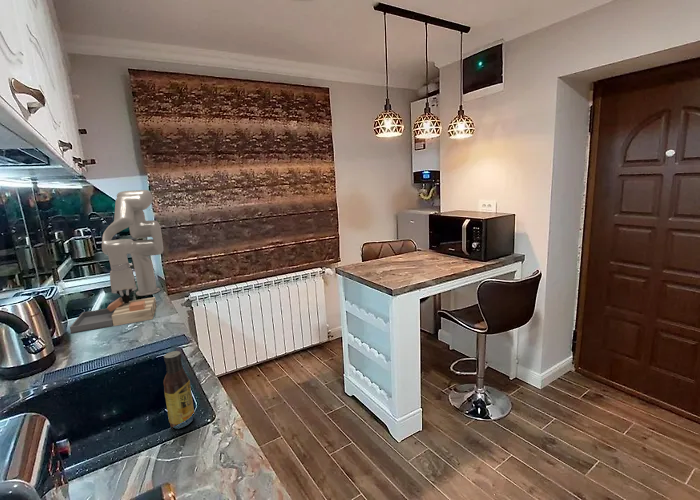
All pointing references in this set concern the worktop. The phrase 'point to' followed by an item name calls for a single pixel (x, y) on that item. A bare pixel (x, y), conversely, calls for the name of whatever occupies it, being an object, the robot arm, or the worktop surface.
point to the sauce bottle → (177, 390)
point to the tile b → (137, 305)
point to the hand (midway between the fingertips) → (126, 302)
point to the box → (92, 320)
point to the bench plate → (134, 312)
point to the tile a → (115, 304)
